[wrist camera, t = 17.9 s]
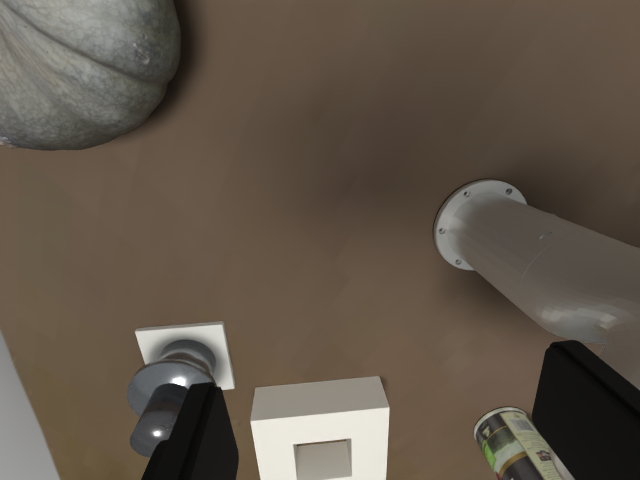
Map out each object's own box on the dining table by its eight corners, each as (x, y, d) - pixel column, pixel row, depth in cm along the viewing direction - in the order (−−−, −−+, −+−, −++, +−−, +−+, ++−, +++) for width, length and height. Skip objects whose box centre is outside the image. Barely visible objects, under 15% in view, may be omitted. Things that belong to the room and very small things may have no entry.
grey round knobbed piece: (220, 327, 45) (194, 400, 34) (231, 386, 49) (212, 470, 38) (140, 334, 45) (86, 411, 33) (158, 393, 49) (116, 480, 37)
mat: (223, 320, 46) (222, 324, 45) (235, 384, 50) (234, 388, 50) (137, 328, 45) (134, 331, 45) (157, 391, 50) (155, 396, 49)
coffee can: (476, 452, 61) (526, 545, 48) (469, 415, 57) (522, 505, 44) (529, 437, 61) (594, 526, 48) (526, 399, 57) (596, 485, 44)
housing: (379, 375, 52) (389, 407, 46) (376, 458, 59) (385, 494, 54) (255, 387, 51) (250, 421, 45) (268, 470, 58) (265, 508, 53)
